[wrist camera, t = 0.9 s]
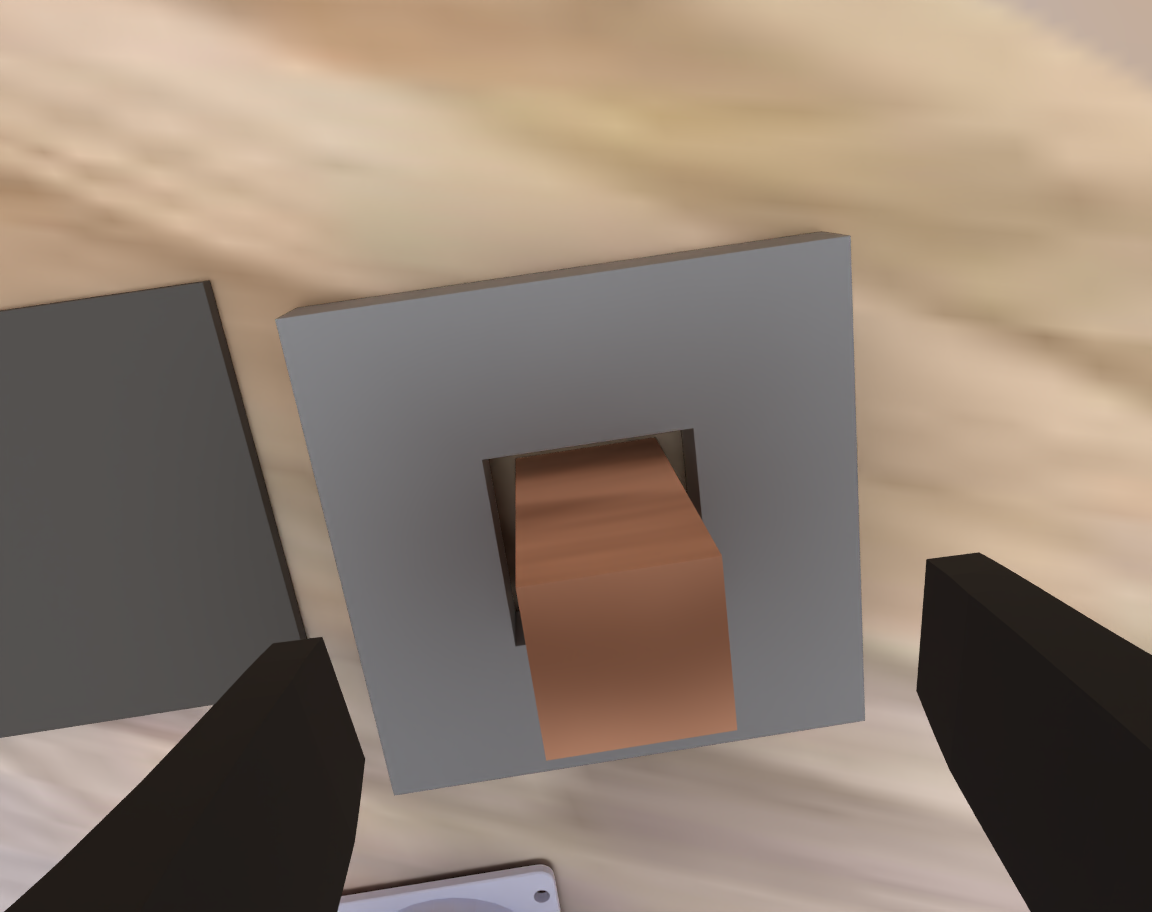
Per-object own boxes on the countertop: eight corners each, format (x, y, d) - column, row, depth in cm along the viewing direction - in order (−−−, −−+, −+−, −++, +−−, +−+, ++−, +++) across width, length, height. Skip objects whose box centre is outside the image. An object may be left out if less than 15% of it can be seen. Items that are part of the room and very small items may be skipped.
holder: (839, 682, 26) (865, 720, 25) (403, 751, 26) (393, 795, 24) (821, 231, 22) (850, 235, 20) (296, 307, 22) (275, 319, 20)
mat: (317, 679, 25) (314, 688, 25) (-82, 741, 25) (-94, 752, 24) (209, 280, 21) (202, 282, 21) (-262, 348, 21) (-281, 352, 21)
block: (669, 564, 25) (737, 729, 17) (536, 584, 25) (546, 760, 17) (655, 437, 24) (721, 555, 16) (515, 458, 23) (515, 588, 16)
